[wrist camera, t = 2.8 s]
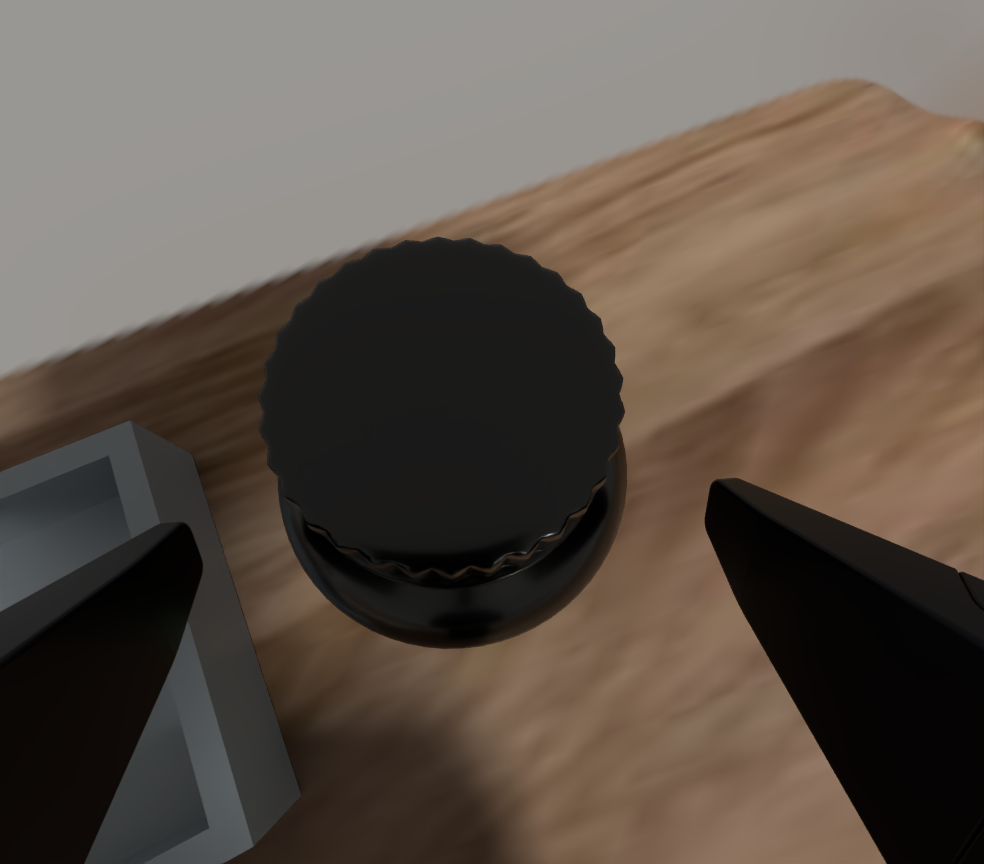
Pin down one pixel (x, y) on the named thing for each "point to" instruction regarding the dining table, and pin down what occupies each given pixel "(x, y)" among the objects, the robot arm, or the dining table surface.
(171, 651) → the robot arm
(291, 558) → the dining table surface
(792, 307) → the dining table surface
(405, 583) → the supplement bottle
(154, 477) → the tray
